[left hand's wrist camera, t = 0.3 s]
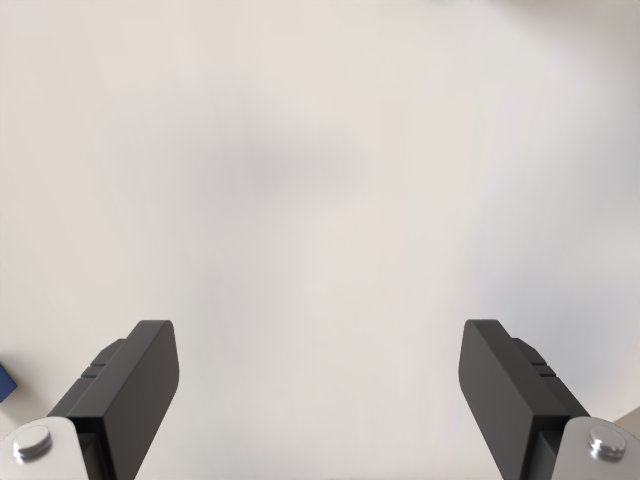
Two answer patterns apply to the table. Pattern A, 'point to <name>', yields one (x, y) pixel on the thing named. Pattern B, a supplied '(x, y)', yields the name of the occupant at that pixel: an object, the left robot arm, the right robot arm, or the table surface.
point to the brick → (5, 384)
